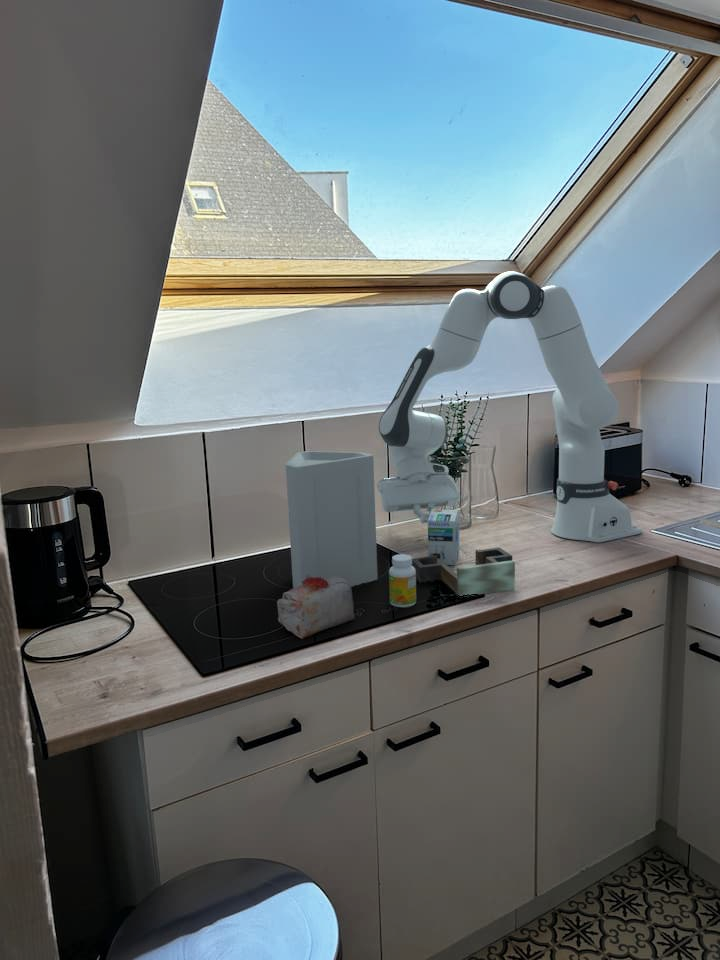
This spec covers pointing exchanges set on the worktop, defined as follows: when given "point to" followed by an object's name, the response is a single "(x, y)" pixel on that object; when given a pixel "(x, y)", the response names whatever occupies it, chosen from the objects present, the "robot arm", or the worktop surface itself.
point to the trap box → (471, 573)
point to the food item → (316, 605)
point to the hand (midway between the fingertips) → (427, 521)
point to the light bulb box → (444, 535)
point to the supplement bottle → (402, 581)
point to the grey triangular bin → (332, 516)
